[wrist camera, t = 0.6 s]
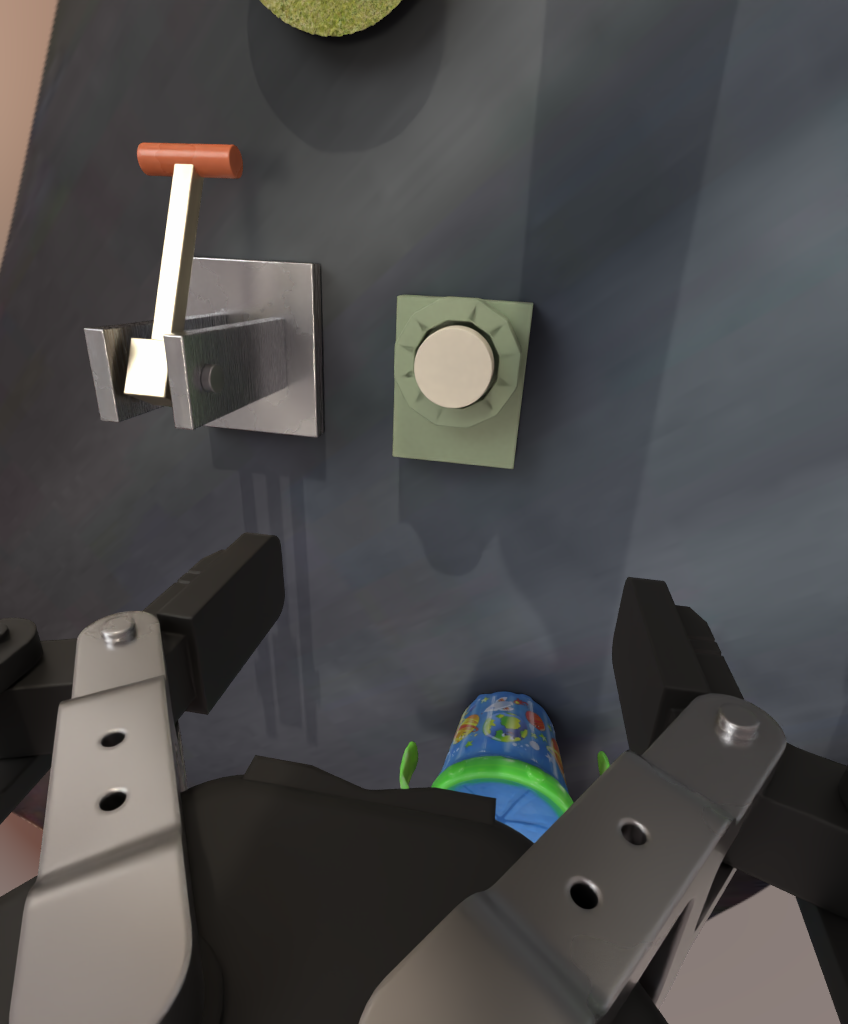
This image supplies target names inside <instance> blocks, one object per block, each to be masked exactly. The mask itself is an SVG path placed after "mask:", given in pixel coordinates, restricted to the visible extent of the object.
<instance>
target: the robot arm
mask: <svg viewBox="0 0 848 1024" xmlns="http://www.w3.org/2000/svg"><path fill="white" fill-rule="evenodd" d="M284 598H285V589H284V577H283V565H282V553H281V544H280V540H279V538H278V537H277V536H274V535H265V534H256V533H244V534H242V535H241V536H240V537H239V538H238V539H237V540H236V541H235V542H234V543H233V544H231V545H230V546H229V547H228V548H227V549H226V550H220V551H218V552H216V553H214V554H211V555H209V556H207V557H205V558H203V559H201V560H200V561H199V562H198V563H197V564H196V565H194V566H193V567H192V568H191V569H190V570H189V572H188V573H185V574H184V575H183V576H182V577H181V578H180V579H178V582H177V583H174V584H173V585H172V586H170V587H169V588H168V589H167V590H166V591H165V592H164V593H162V594H161V595H160V596H159V597H158V598H157V599H156V600H154V601H153V602H152V603H151V604H150V605H149V606H148V607H146V608H145V609H144V610H143V611H142V612H141V611H128V612H121V613H116V614H112V615H109V616H106V617H104V618H101V619H99V620H97V621H95V622H93V623H92V624H90V625H89V626H87V627H86V628H85V629H84V630H83V631H82V632H81V633H80V635H79V636H78V639H64V640H50V641H40V638H39V635H38V632H37V628H36V625H35V624H34V623H33V622H32V621H30V620H27V619H23V618H5V619H0V824H1V823H2V822H3V821H4V820H5V819H6V817H7V816H8V815H9V814H10V813H11V812H12V811H13V810H14V809H15V807H16V806H17V805H18V804H19V803H20V802H21V801H22V800H23V798H24V797H25V796H26V795H27V794H28V793H29V792H30V791H31V789H32V788H33V787H34V786H35V785H36V784H37V783H38V782H39V780H40V779H41V778H42V777H43V776H44V775H45V774H46V773H47V772H48V770H49V769H50V768H51V772H50V781H49V789H48V797H47V805H46V813H45V822H44V830H43V838H42V847H41V855H40V863H39V871H38V875H37V876H36V877H34V878H32V879H30V880H29V881H27V882H25V883H24V884H22V885H20V886H19V887H17V888H15V889H13V890H11V891H10V892H8V893H6V894H5V895H3V896H1V897H0V1024H668V1023H667V1021H666V1020H665V1018H664V1017H663V1015H662V1014H661V1013H660V1011H659V1009H660V1007H661V1005H662V1003H663V1002H664V1000H665V998H666V996H667V994H668V992H669V990H670V988H671V986H672V985H673V983H674V980H675V978H676V976H677V974H678V972H679V970H680V967H681V966H682V964H683V962H684V960H685V958H686V955H687V954H688V952H689V950H690V948H691V946H692V944H693V943H694V941H695V939H696V938H697V936H698V934H699V933H700V931H701V929H702V928H703V926H704V924H705V922H706V921H707V919H708V917H709V916H710V914H711V912H712V910H713V909H714V907H715V905H716V904H717V902H718V900H719V899H720V897H721V895H722V893H723V892H724V890H725V888H726V887H727V885H728V883H729V881H730V880H731V878H732V876H733V875H734V873H735V871H736V869H738V870H741V871H743V872H745V873H747V874H749V875H751V876H753V877H756V878H758V879H760V880H762V881H764V882H766V883H768V884H771V885H773V886H775V887H777V888H779V889H781V890H783V891H786V892H788V893H790V894H792V895H794V896H796V899H797V902H798V904H799V907H800V910H801V913H802V916H803V919H804V922H805V924H806V927H807V930H808V933H809V936H810V939H811V941H812V944H813V947H814V950H815V953H816V955H817V958H818V961H819V964H820V967H821V969H822V972H823V975H824V978H825V981H826V983H827V986H828V989H829V992H830V995H831V998H832V1000H833V1003H834V1006H835V1009H836V1012H837V1014H838V1017H839V1020H840V1023H841V1024H848V765H847V766H845V765H842V764H840V763H837V762H834V761H831V760H829V759H826V758H823V757H820V756H818V755H815V754H812V753H809V752H807V751H804V750H802V749H799V748H797V747H795V746H793V745H791V744H789V743H787V742H786V737H785V734H784V732H783V730H782V728H781V727H780V726H779V724H778V723H777V722H776V721H775V720H774V719H773V718H772V717H771V716H770V715H769V714H767V713H766V712H765V711H763V710H762V709H760V708H759V707H757V706H755V705H754V704H752V703H750V702H748V701H745V700H744V698H743V696H742V694H741V692H740V690H739V688H738V686H737V684H736V682H735V680H734V678H733V676H732V673H731V671H730V669H729V667H728V665H727V663H726V661H725V659H724V657H723V656H721V651H720V649H719V647H718V645H717V643H716V642H715V641H714V640H715V639H714V637H713V634H712V632H711V630H710V628H709V626H708V624H707V622H706V621H704V620H703V619H702V618H701V617H700V616H699V615H698V614H697V613H695V612H694V611H693V610H692V609H691V608H690V607H686V606H677V605H675V604H674V601H673V599H672V597H671V594H670V592H669V589H668V587H667V585H666V583H665V582H664V581H659V580H650V579H641V578H633V577H628V578H627V580H626V582H625V585H624V589H623V594H622V599H621V603H620V608H619V613H618V618H617V623H616V627H615V632H614V637H613V646H612V662H613V669H614V674H615V679H616V684H617V689H618V694H619V699H620V704H621V709H622V714H623V719H624V724H625V729H626V734H627V739H628V744H629V749H630V750H627V751H625V752H624V753H622V754H621V755H620V756H619V757H618V758H617V759H616V760H615V761H614V762H613V763H612V764H611V765H610V766H609V767H608V769H607V770H606V771H605V772H604V773H603V774H602V775H601V776H600V777H599V778H598V779H597V780H596V781H595V782H594V783H593V784H592V785H591V786H590V787H589V788H588V789H587V790H586V791H585V792H584V793H583V794H582V795H581V796H580V797H579V798H578V799H577V800H576V801H575V802H574V803H573V804H572V805H571V806H570V807H569V808H568V809H567V810H566V811H565V812H564V814H563V815H562V816H561V817H560V818H559V819H558V820H557V821H556V822H555V823H554V824H553V825H552V826H551V827H550V828H549V829H548V830H547V831H546V832H545V833H544V834H543V835H542V836H541V837H540V838H539V839H538V840H537V841H536V842H535V843H533V842H532V841H531V840H529V839H528V838H527V837H525V836H524V835H523V834H521V833H520V832H518V831H516V830H515V829H513V828H511V827H509V826H508V825H506V824H504V823H501V822H499V821H497V820H495V811H496V798H492V797H486V796H480V795H475V794H469V793H464V792H458V791H452V790H447V789H441V788H436V787H428V788H407V789H387V790H367V789H364V788H361V787H359V786H356V785H354V784H352V783H350V782H348V781H345V780H343V779H341V778H339V777H336V776H334V775H332V774H330V773H328V772H325V771H323V770H321V769H319V768H317V767H314V766H312V765H307V764H302V763H296V762H290V761H285V760H279V759H274V758H268V757H263V756H257V755H255V757H254V759H253V761H252V762H251V764H250V766H249V768H248V769H247V771H246V773H245V774H244V775H235V776H228V777H222V778H219V779H215V780H211V781H207V782H205V783H202V784H199V785H196V786H194V787H191V788H189V789H188V782H187V775H186V768H185V761H184V754H183V746H182V739H181V732H180V727H179V721H178V719H179V718H180V717H181V715H182V714H183V713H184V712H185V711H189V712H195V713H200V714H206V715H208V714H209V712H210V711H211V709H212V708H213V707H214V705H215V704H216V703H217V701H218V700H219V698H220V697H221V696H222V694H223V693H224V692H225V690H226V689H227V688H228V686H229V685H230V683H231V682H232V681H233V679H234V678H235V677H236V675H237V674H238V673H239V671H240V670H241V668H242V667H243V666H244V664H245V663H246V662H247V660H248V659H249V658H250V656H251V655H252V653H253V652H254V651H255V649H256V648H257V647H258V645H259V644H260V642H261V641H262V640H263V638H264V637H265V636H266V634H267V633H268V632H269V630H270V629H271V627H272V626H273V625H274V623H275V622H276V621H277V619H278V618H279V616H280V614H281V612H282V609H283V605H284Z"/></svg>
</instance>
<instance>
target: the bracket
mask: <svg viewBox="0 0 848 1024" xmlns="http://www.w3.org/2000/svg"><path fill="white" fill-rule="evenodd" d="M153 321H154V320H151V321H142V322H134V323H125V324H117V325H108V326H100V327H91V328H85V329H84V331H85V337H86V342H87V348H88V353H89V358H90V364H91V369H92V374H93V380H94V385H95V391H96V396H97V401H98V407H99V412H100V418H101V421H110V422H121V421H124V420H127V419H130V418H132V417H135V416H138V415H141V414H144V413H147V412H149V411H152V410H155V409H158V408H161V407H164V406H159V405H153V404H150V403H147V402H144V401H142V400H139V399H136V398H134V397H131V396H128V395H125V394H124V387H125V380H126V372H127V365H128V357H129V350H130V342H131V338H143V339H151V336H152V329H153ZM163 339H164V347H165V354H166V362H167V370H168V377H169V385H170V392H171V400H172V407H173V415H174V423H175V428H179V429H189V430H194V429H196V428H198V427H201V426H208V427H218V428H228V429H237V430H247V431H257V432H267V433H276V434H286V435H296V436H306V437H315V438H317V437H319V436H320V435H321V434H323V433H324V417H323V372H322V327H321V282H320V264H314V263H295V262H277V261H259V260H241V259H223V258H205V257H193V263H192V271H191V279H190V286H189V294H188V301H187V309H186V317H185V324H184V331H182V332H176V333H170V334H164V335H163Z"/></svg>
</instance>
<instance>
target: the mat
mask: <svg viewBox="0 0 848 1024" xmlns="http://www.w3.org/2000/svg"><path fill="white" fill-rule="evenodd" d="M260 1H261V2H262V3H263V5H264V6H266V7H267V8H268V9H270V10H271V11H272V13H273V14H275V15H276V16H277V18H279V17H281V20H282V21H284V22H285V23H288V24H290V25H291V26H292V27H296V28H297V29H300V30H302V31H305V32H309V33H310V34H313V35H314V34H317V35H320V36H325V37H327V36H330V35H331V36H332V37H333V36H338V37H340V36H343V35H344V34H353V33H354V32H356V31H361V30H364V29H366V28H367V27H369V26H371V25H374V24H375V23H376V22H379V21H380V20H381V19H382V18H384V17H385V16H386V15H388V14H389V13H390V12H391V11H392V10H393V9H394V8H395V7H396V6H397V5H398V4H399V3H400V2H401V0H260Z"/></svg>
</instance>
